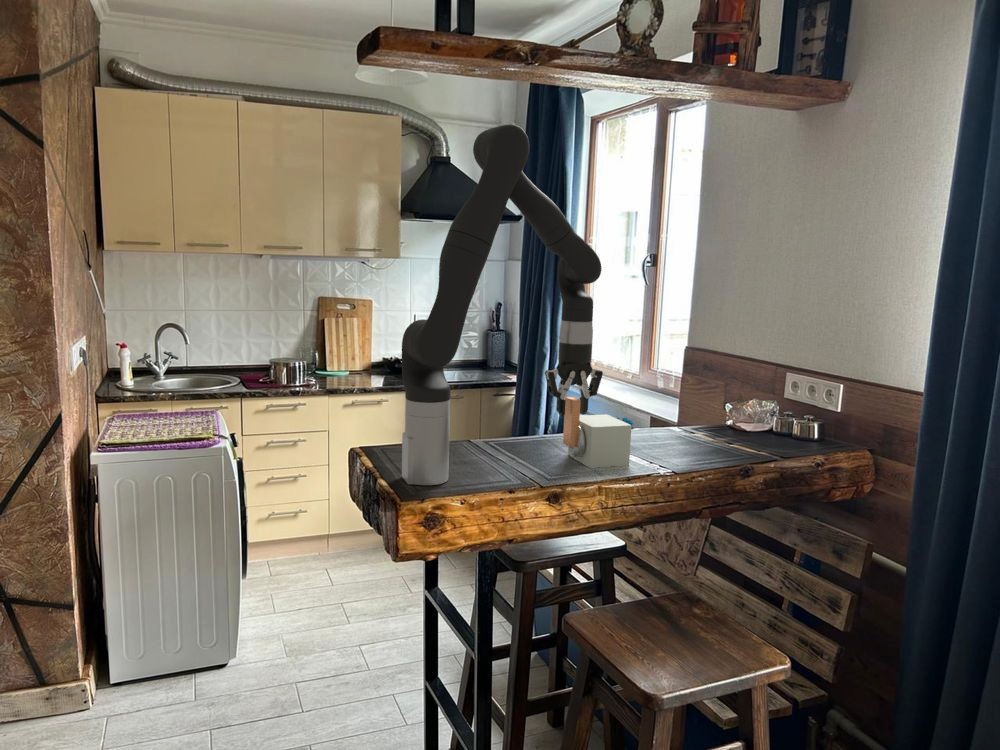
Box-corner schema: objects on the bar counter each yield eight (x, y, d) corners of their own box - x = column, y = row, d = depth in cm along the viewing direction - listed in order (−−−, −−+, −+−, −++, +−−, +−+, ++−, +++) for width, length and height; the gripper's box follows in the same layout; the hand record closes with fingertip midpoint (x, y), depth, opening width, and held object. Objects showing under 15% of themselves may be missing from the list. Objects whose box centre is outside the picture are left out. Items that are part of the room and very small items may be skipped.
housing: (590, 468, 168) (592, 427, 166) (567, 454, 179) (569, 415, 177) (629, 465, 171) (631, 425, 169) (604, 452, 182) (607, 414, 181)
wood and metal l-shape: (572, 461, 168) (576, 401, 166) (559, 452, 175) (562, 395, 173) (609, 458, 171) (612, 400, 169) (594, 450, 178) (597, 394, 176)
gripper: (553, 342, 162) (549, 419, 165) (611, 342, 167) (607, 416, 169) (540, 338, 169) (537, 412, 172) (596, 338, 174) (592, 409, 176)
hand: (572, 413), depth 171 cm, fingers open, 4 cm apart
